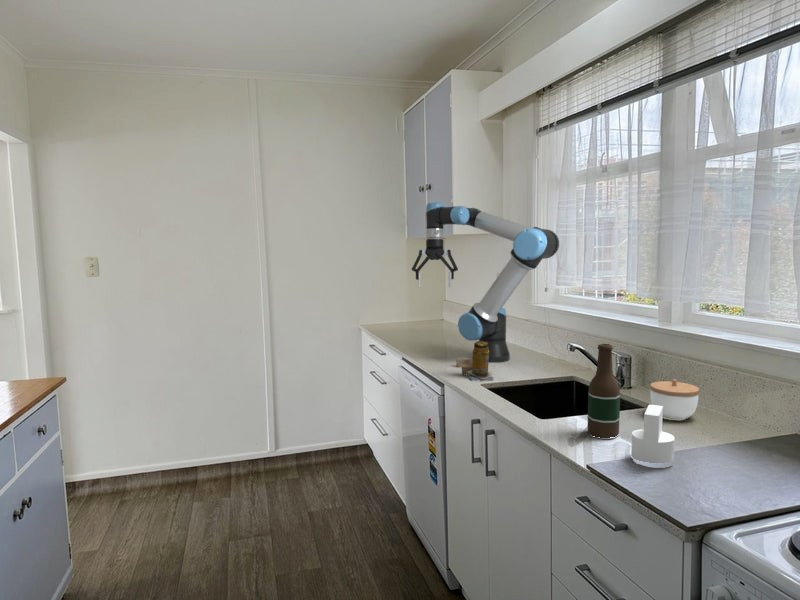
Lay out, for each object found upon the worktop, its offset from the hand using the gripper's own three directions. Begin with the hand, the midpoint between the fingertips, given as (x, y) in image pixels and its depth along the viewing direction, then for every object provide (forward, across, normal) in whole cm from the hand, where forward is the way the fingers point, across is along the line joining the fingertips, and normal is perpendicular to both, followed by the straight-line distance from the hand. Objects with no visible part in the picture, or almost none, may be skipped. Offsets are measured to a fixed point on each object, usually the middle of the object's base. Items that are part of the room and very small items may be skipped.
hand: (434, 287), depth 245 cm
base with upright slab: (+31, +35, -123) cm, 132 cm away
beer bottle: (+31, +31, -105) cm, 114 cm away
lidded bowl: (+31, +58, -92) cm, 113 cm away
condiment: (+30, +13, -40) cm, 51 cm away
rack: (+32, +12, -27) cm, 43 cm away
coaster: (+31, +12, -40) cm, 52 cm away
